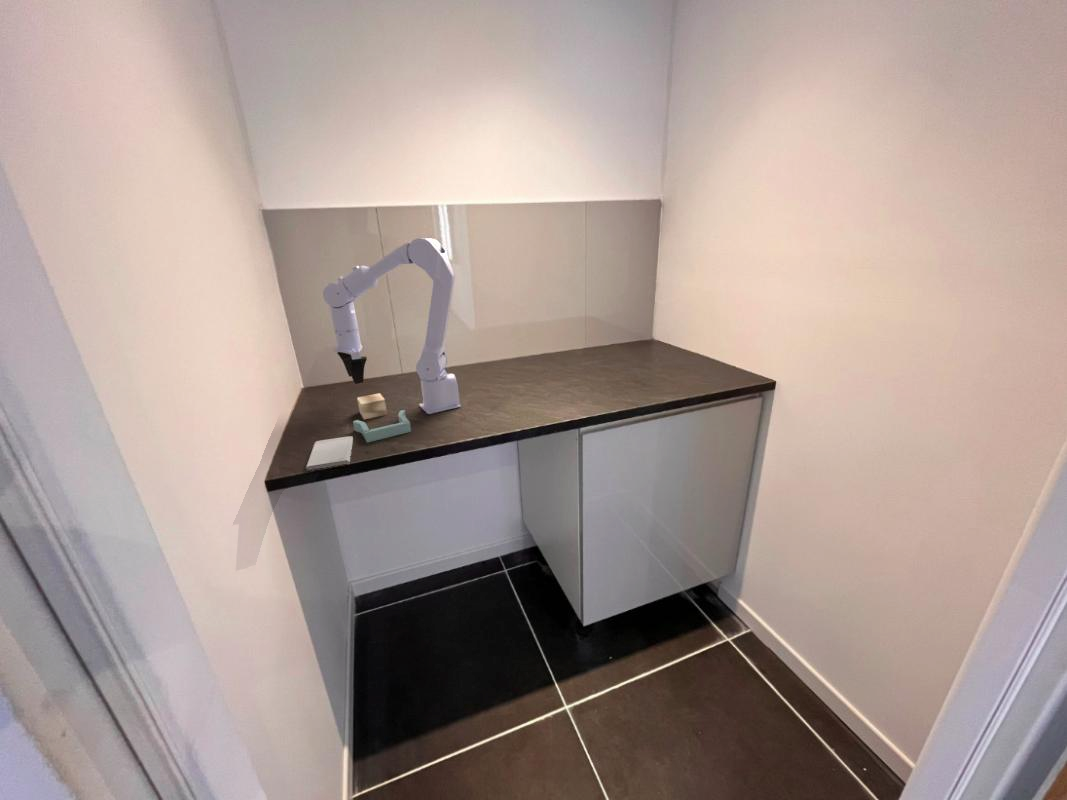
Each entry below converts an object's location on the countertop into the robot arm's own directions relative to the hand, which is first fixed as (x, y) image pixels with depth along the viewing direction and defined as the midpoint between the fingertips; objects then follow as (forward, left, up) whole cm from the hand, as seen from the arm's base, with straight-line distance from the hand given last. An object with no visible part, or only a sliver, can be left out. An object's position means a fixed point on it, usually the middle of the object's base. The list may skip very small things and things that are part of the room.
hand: (356, 379), depth 114 cm
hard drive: (+11, +25, -9) cm, 29 cm away
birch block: (-2, +6, -9) cm, 11 cm away
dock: (-2, +20, -9) cm, 22 cm away
